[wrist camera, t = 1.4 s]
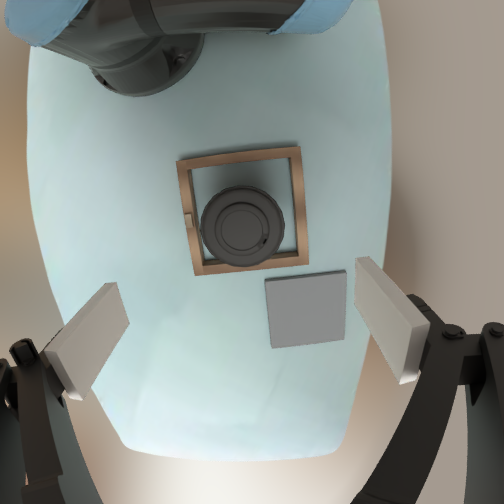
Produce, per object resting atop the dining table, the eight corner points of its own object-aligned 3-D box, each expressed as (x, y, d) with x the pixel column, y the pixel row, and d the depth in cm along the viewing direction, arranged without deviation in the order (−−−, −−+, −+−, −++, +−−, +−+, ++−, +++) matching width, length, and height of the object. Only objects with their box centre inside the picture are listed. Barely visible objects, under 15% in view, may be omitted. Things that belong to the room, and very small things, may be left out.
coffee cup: (279, 239, 38) (288, 269, 28) (216, 244, 38) (203, 275, 29) (275, 175, 35) (283, 183, 26) (209, 180, 36) (192, 191, 26)
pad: (264, 279, 40) (264, 281, 39) (345, 270, 39) (346, 272, 38) (271, 345, 43) (271, 348, 42) (342, 336, 43) (344, 339, 42)
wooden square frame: (180, 160, 35) (174, 161, 32) (297, 146, 34) (301, 146, 32) (197, 269, 39) (194, 277, 37) (306, 258, 39) (309, 266, 36)
